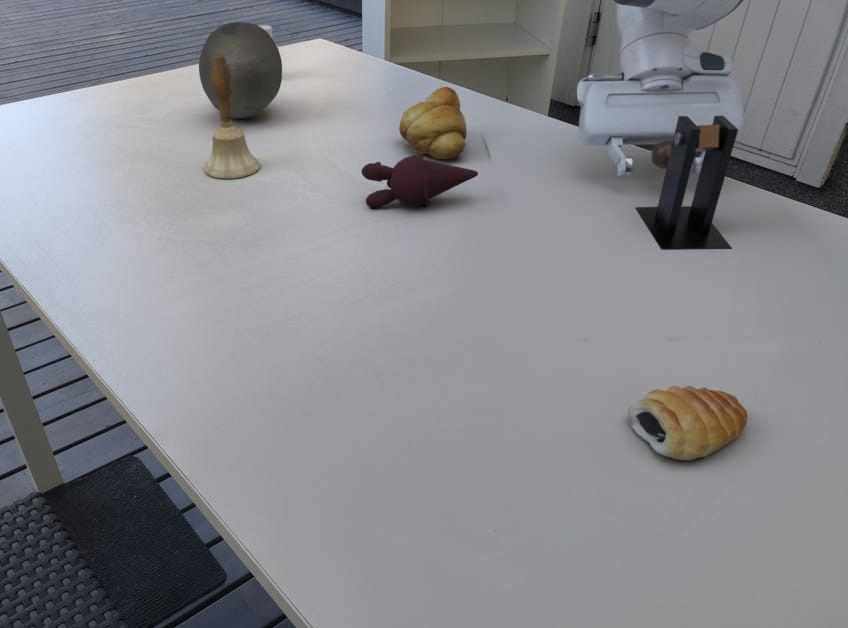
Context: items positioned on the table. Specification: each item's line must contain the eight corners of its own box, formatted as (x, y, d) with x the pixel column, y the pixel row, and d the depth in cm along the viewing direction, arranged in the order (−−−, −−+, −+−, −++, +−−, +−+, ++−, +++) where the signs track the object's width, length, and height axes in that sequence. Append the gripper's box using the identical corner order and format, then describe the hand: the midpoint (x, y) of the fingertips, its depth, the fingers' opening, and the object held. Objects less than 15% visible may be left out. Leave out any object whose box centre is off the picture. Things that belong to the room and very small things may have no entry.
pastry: (708, 394, 66) (719, 360, 64) (764, 444, 61) (779, 409, 59) (618, 420, 63) (626, 385, 61) (669, 473, 58) (680, 438, 56)
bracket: (633, 215, 94) (656, 106, 86) (696, 214, 94) (726, 105, 86) (659, 258, 86) (687, 141, 77) (729, 257, 85) (765, 140, 77)
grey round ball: (189, 126, 124) (173, 31, 115) (232, 100, 135) (221, 11, 126) (263, 136, 120) (252, 38, 111) (302, 109, 130) (295, 17, 121)
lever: (646, 171, 96) (647, 142, 95) (674, 170, 96) (675, 142, 95) (692, 153, 82) (693, 119, 81) (725, 152, 81) (726, 118, 81)
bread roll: (476, 162, 109) (480, 108, 104) (411, 168, 108) (412, 113, 103) (453, 132, 119) (455, 81, 115) (394, 137, 118) (394, 86, 113)
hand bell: (251, 153, 114) (238, 44, 104) (267, 173, 108) (255, 58, 98) (198, 163, 111) (179, 51, 102) (211, 183, 105) (193, 66, 96)
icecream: (471, 142, 98) (359, 156, 99) (481, 148, 92) (360, 164, 92) (474, 194, 101) (365, 208, 101) (484, 204, 94) (367, 219, 95)
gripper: (582, 61, 94) (587, 165, 92) (745, 58, 94) (753, 162, 92) (570, 86, 101) (574, 184, 99) (722, 83, 100) (730, 181, 98)
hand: (662, 173), depth 95 cm, fingers open, 8 cm apart
